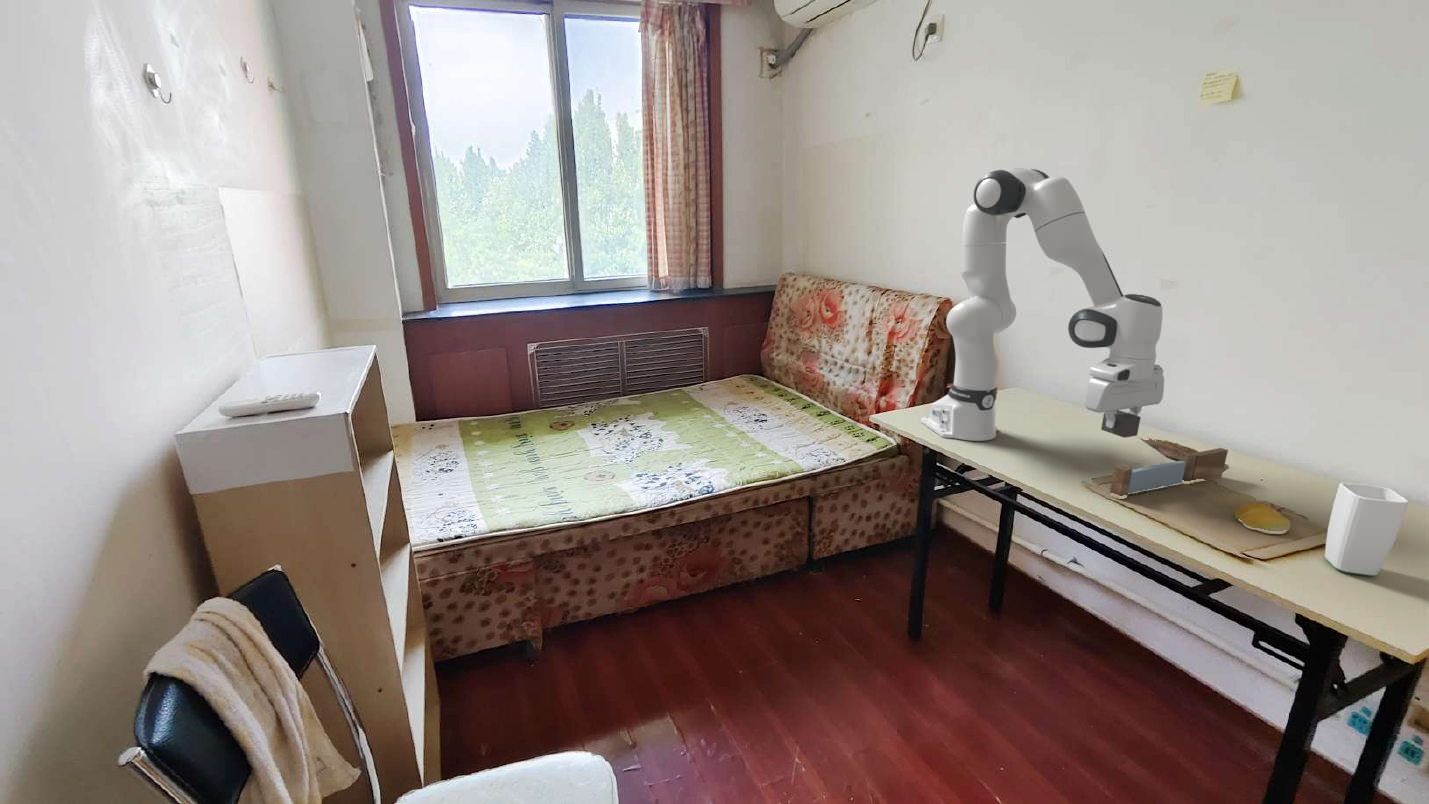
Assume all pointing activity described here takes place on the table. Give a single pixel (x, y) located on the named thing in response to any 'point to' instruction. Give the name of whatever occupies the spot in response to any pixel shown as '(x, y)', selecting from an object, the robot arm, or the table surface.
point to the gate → (1156, 476)
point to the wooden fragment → (1172, 449)
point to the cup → (1363, 527)
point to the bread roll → (1262, 517)
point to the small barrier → (1195, 468)
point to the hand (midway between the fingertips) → (1119, 425)
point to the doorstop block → (1123, 424)
